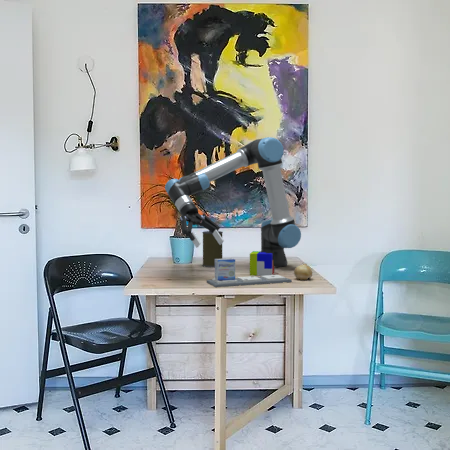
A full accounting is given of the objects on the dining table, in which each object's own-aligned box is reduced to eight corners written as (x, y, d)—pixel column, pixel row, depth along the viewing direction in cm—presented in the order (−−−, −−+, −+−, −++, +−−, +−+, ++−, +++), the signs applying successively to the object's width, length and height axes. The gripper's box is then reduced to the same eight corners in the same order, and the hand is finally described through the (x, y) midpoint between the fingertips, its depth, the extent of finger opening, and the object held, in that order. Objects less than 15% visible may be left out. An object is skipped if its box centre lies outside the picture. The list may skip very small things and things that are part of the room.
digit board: (279, 277, 250) (279, 273, 250) (291, 282, 239) (291, 277, 239) (206, 282, 239) (206, 278, 239) (215, 287, 228) (215, 282, 227)
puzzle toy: (271, 276, 255) (271, 254, 255) (249, 275, 257) (249, 253, 257) (274, 272, 265) (274, 251, 265) (253, 272, 267) (253, 251, 267)
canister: (221, 267, 283) (220, 227, 282) (200, 266, 285) (200, 227, 283) (224, 264, 294) (224, 226, 292) (204, 263, 295) (204, 225, 294)
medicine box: (217, 280, 232) (217, 259, 232) (214, 279, 236) (214, 258, 236) (235, 279, 234) (235, 259, 234) (232, 278, 239) (232, 257, 238)
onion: (315, 280, 243) (315, 264, 242) (297, 281, 241) (297, 265, 241) (308, 277, 251) (308, 261, 250) (291, 278, 249) (291, 262, 249)
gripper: (203, 212, 260) (226, 247, 251) (161, 215, 243) (184, 252, 233) (211, 201, 256) (235, 236, 247) (168, 203, 239) (192, 240, 229)
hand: (210, 244), depth 240 cm, fingers open, 13 cm apart
